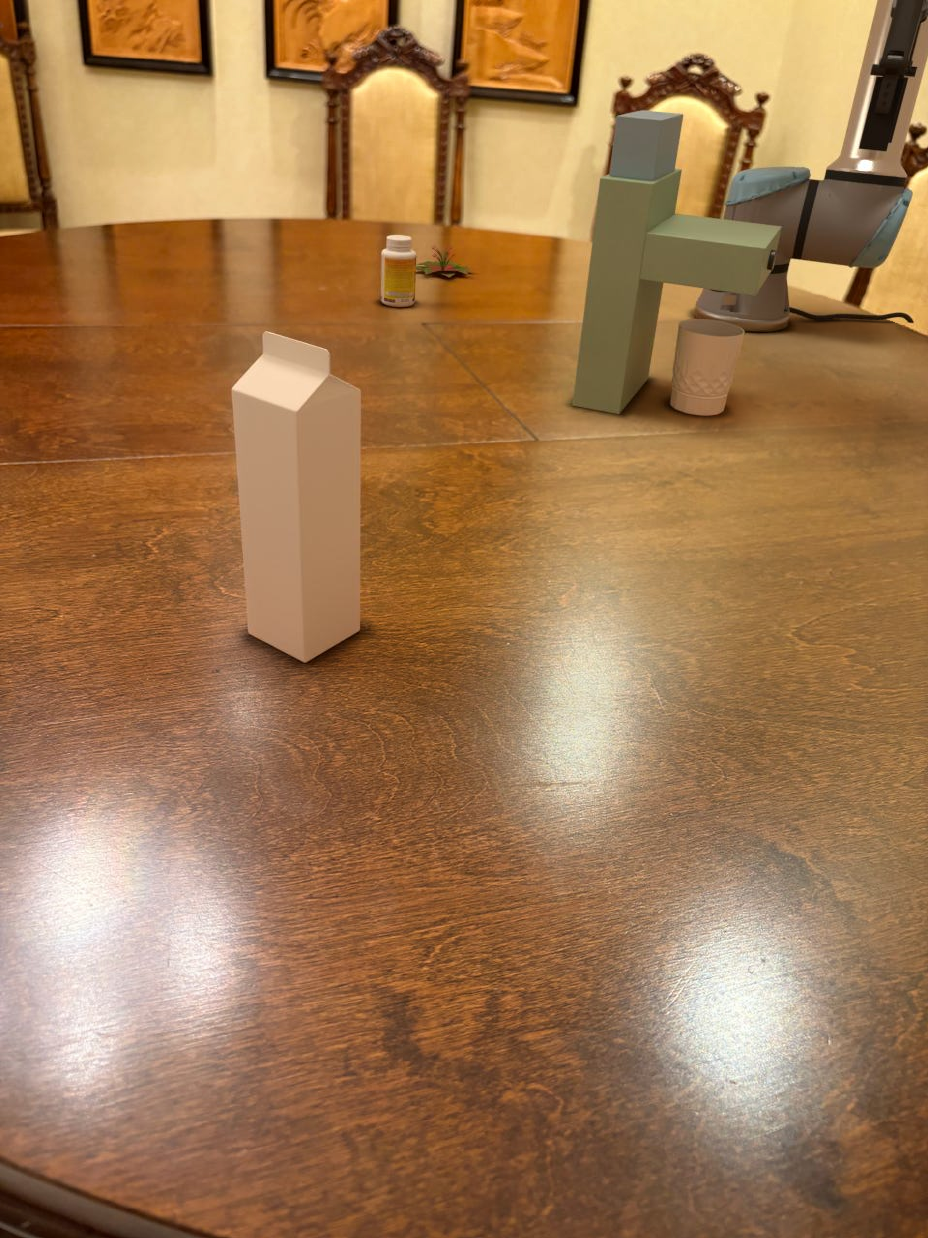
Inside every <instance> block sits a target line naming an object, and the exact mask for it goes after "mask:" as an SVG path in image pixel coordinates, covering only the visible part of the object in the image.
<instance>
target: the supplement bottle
mask: <svg viewBox="0 0 928 1238" xmlns="http://www.w3.org/2000/svg"><path fill="white" fill-rule="evenodd" d="M412 242H413V241H412V236H408V235H403V234H391V235H387V236H386V246H385V248H383V249H382V250H381V253H380V301H381V303H382V304H383V305H385V306H387V307H394V308H407V307H411V306H413V305H414V304H415V301H416V278H417V276H416V275H417V272H416V271H417V270H416V266H417V252H416V251H415V250H414V249H413V248H412V246H413V243H412Z"/></svg>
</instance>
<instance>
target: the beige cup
mask: <svg viewBox="0 0 928 1238" xmlns="http://www.w3.org/2000/svg"><path fill="white" fill-rule="evenodd" d="M745 332H746V331H744V329H742V328H741V327H739V326H737V325H734V324H731V323H728V322H723V321H718V320H710V319H698V318H689V319H684V320H682V321H680V322H679V323H678V327H677V335H676V342H675V349H674V359H673V367H672V377H671V384H672V386H671V394H670V401H669V403H670V404H669V406H671V407H672V408H673V409H675V410H676V411H679V412H680V413H681V412H682V413H684V414H689V415H693V416H701V417H704V416H706V417H709V416H716V415H719V414H721V413H723V412H724V410H725V407H726V403H727V398H728V394H729V391H730V389H731V387H732V382H733V379H734V376H735V371H736V369H737V365H738V360H739V356H740V352H741V349H742V344H743V341H744V336H745Z"/></svg>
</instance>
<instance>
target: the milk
mask: <svg viewBox="0 0 928 1238" xmlns="http://www.w3.org/2000/svg"><path fill="white" fill-rule="evenodd" d="M231 402H232V417H233V418H232V419H233V433H234V447H235V448H234V449H235V460H236V461H235V463H236V475H237V476H236V478H237V490H238V504H239V516H240V517H239V518H240V519H239V520H240V534H241V549H242V561H243V577H244V579H243V580H244V593H245V607H246V620H247V621H246V622H247V632H248V634H249V635H251V636H252V637H255V638H256V639H258V640H260V641H262V642H264V643H266V644H268V645H270V646H272V647H273V648H276V649H277V650H279V651H281V652H283V653H285V654H287V655H289V656H290V657H292V658H295V659H296V660H299V661H301V662H302V663H307V662H309V661H311V660H313V659H315V658H317V656H319V655H321V654H323V653H324V652H326V651H328V650H330V649H331V648H333V647H334V646H337V645H338V644H340V643H342V641H345V640H346V639H348V638H350V637H352V636H353V635H355V634H356V633H358V632H360V630H361V493H362V492H361V488H362V487H361V486H362V485H361V484H362V483H361V481H362V480H361V479H362V478H361V474H362V473H361V471H362V470H361V469H362V467H361V464H362V462H361V460H362V459H361V457H362V455H361V454H362V453H361V451H362V447H361V446H362V443H361V441H362V419H361V418H362V390H361V389H360V388H358V387H357V386H354V385H352V384H351V383H348V382H347V381H345V380H344V379H341V378H339V377H337V376H335V375H333V374H331V354H330V351H329V350H328V349H327V348H323V347H320V346H317V345H314V344H310V343H307V342H303V341H301V340H297V339H293V338H290V337H287V336H284V335H280V334H277V333H274V332H270V331H263V333H262V354H261V355H260V356H259V357H258V359H256V361H255V362H254V363H253V364H252V365H251V366H250V367H249V368H248V370H246V371H245V373H244V374H243V375H242V376H241V377H240V378H239V379H238V381H237V382H235V384H234V385H233V386H232V387H231Z"/></svg>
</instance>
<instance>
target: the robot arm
mask: <svg viewBox="0 0 928 1238" xmlns="http://www.w3.org/2000/svg"><path fill="white" fill-rule="evenodd" d="M927 61H928V0H876V5H875V9H874V13H873V16H872V21H871V25H870V30H869V34H868V38H867V42H866V46H865V50H864V55H863V59H862V63H861V67H860V72H859V75H858V79H857V84H856V88H855V92H854V97H853V101H852V105H851V108H850V112H849V117H848V121H847V124H846V125H847V126H846V129H845V133H844V138H843V142H842V146H841V149H840V154H839V156H838V157H837V159H835V160H834V161H833V162H831V163H830V164H829V165H828V166H826V168H825V173H824V177H823V179H813V178H811V175H812V174H811V169H810V168H808V167H805V166H767V167H755V168H750V169H744V170H741V171H739V172H737V173H736V174H734V176H733V177H732V179H731V181H730V183H729V189H728V192H727V195H726V200H725V201H724V206H725V208H724V212H723V213H724V214H723V218H722V219H725V220H733V221H741V222H749V223H757V224H765V225H773V226H781V227H782V228H781V233H780V238H779V242H778V247H777V255H776V260H775V264H774V267H773V270H772V271H771V272H770V274H769V275H768V277H767V279H766V280H765V282H764V283H763V285H762V286H761V288H760V289H759V291H758V292H757V294H756V296H752V295H745V294H738V293H731V292H715V291H711V290H709V289H704V288H702V290H701V292H700V294H699V296H698V298H697V300H696V302H695V307H694V312H693V314H694V316H695V318H696V319H710V320H718V321H723V322H728V323H731V324H734V325H737V326H739V327H741V328H742V329H744V331H745V332H774V331H780V330H783V329H785V328H787V327H788V324H789V321H790V316H791V314H793V315H797V316H801V317H803V318H806V319H809V320H812V321H813V320H814V321H829V320H839V319H840V320H841V319H846V320H847V319H848V320H849V319H850V320H863V321H865V320H866V321H884V320H889V319H895V318H902V319H903V320H905V321H906V322H907V323H909V324H915V321H914V320H913V318H912V317H911V315H909V314H907V313H905V312H900V311H898V312H897V311H896V312H890V313H886V314H885V313H884V314H860V313H832V314H821V315H820V314H814V313H810V312H807V311H804V310H801V309H798V308H795V307H792V306H790V299H789V298H790V297H789V288H788V273H789V268H790V263H791V260H799V261H807V262H815V263H821V264H830V265H838V266H846V267H848V268H850V269H852V268H864V269H866V268H867V269H875V268H878V267H880V266H882V265H883V264H884V263H885V262H886V260H887V259H888V257H889V255H890V253H891V252H892V249H893V247H894V245H895V242H896V240H897V238H898V235H899V233H900V230H901V229H902V226H903V223H904V220H905V218H906V215H907V212H908V209H909V206H910V203H911V201H912V199H913V195H914V192H913V190H911V188H909V187H905V185H906V181H907V177H908V174H907V173H906V171H905V169H904V167H903V166H902V163H901V159H902V155H903V152H904V147H905V144H906V140H907V137H908V134H909V133H908V132H909V129H910V126H911V122H912V118H913V114H914V110H915V107H916V103H917V99H918V96H919V91H920V88H921V84H922V80H923V77H924V73H925V69H926V65H927Z"/></svg>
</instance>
